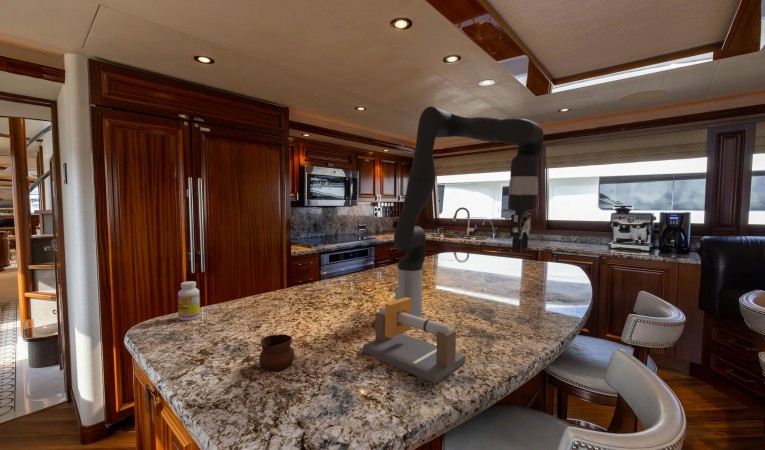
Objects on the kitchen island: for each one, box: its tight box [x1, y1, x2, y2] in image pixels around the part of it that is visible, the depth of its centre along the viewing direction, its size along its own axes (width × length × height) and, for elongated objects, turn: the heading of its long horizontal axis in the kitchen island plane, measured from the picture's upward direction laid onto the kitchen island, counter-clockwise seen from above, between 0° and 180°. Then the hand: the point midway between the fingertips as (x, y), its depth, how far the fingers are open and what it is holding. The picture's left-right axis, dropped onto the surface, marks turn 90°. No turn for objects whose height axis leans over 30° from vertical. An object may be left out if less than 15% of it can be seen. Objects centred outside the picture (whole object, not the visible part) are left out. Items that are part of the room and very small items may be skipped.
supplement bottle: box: [177, 280, 201, 321], centre depth 119 cm, size 7×7×13 cm
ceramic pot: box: [239, 333, 295, 381], centre depth 86 cm, size 18×18×7 cm
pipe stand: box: [362, 306, 466, 385], centre depth 90 cm, size 24×14×12 cm, turn 47°
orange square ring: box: [384, 297, 412, 338], centre depth 93 cm, size 2×9×9 cm, turn 137°
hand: (519, 250), depth 95 cm, fingers open, 8 cm apart
